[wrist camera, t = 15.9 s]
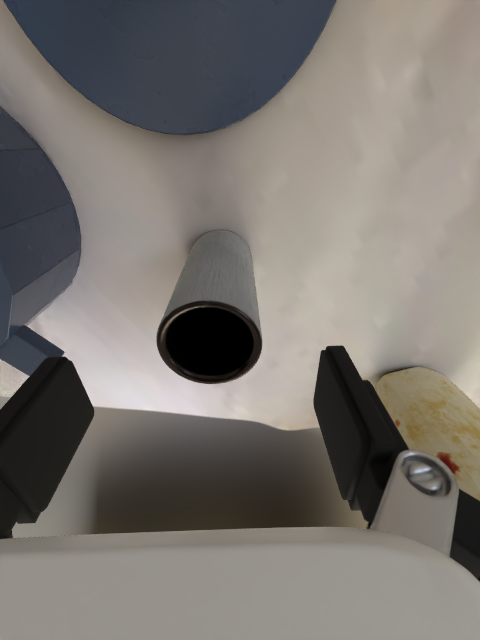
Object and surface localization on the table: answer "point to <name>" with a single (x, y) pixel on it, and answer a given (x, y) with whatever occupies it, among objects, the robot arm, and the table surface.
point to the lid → (175, 54)
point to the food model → (436, 420)
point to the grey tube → (213, 313)
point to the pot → (31, 244)
